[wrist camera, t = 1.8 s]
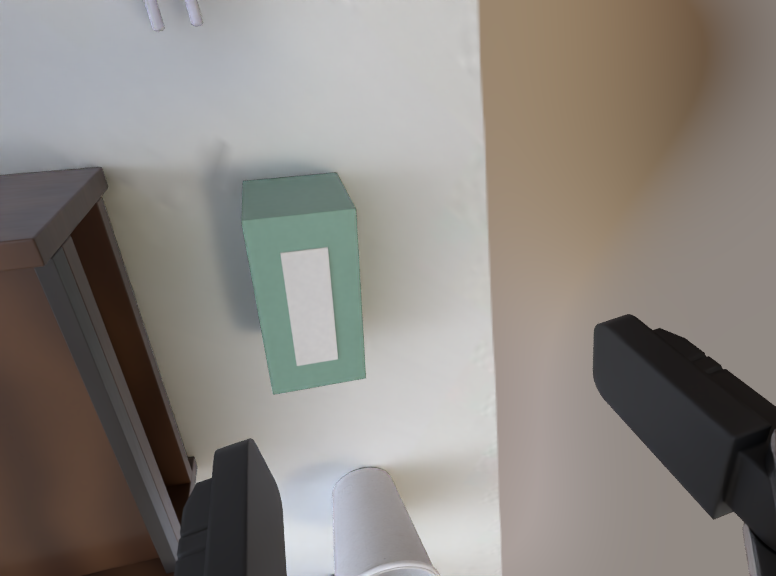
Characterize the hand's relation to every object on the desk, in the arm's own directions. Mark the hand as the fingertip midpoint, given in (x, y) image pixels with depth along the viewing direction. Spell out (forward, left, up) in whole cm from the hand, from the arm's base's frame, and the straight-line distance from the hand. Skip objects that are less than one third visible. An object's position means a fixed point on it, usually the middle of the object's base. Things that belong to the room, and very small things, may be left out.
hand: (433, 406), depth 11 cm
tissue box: (-2, -6, -22) cm, 23 cm away
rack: (-18, -11, -22) cm, 30 cm away
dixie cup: (+1, -30, -22) cm, 37 cm away
